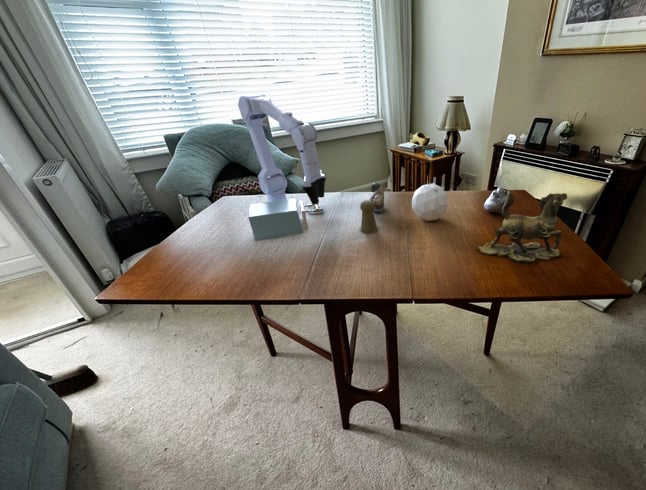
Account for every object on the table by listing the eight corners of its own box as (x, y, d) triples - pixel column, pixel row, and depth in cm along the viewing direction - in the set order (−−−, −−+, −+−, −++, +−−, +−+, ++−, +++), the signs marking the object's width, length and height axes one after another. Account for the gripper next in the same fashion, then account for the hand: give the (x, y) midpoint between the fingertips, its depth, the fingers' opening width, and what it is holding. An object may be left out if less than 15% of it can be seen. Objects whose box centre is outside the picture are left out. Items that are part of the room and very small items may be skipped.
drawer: (319, 215, 125) (316, 198, 121) (322, 226, 116) (319, 208, 112) (266, 223, 121) (261, 205, 117) (265, 235, 112) (260, 217, 108)
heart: (513, 211, 124) (513, 181, 118) (507, 219, 117) (507, 188, 112) (488, 210, 129) (487, 182, 124) (481, 218, 123) (480, 189, 117)
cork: (377, 226, 117) (376, 198, 111) (375, 233, 112) (374, 204, 106) (362, 225, 118) (360, 198, 112) (359, 232, 113) (357, 204, 107)
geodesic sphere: (463, 208, 114) (449, 172, 113) (434, 218, 107) (419, 180, 107) (439, 220, 127) (427, 188, 127) (413, 229, 121) (399, 195, 120)
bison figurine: (384, 214, 126) (383, 190, 121) (367, 215, 126) (366, 191, 121) (384, 203, 136) (383, 181, 130) (368, 204, 136) (367, 181, 131)
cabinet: (299, 219, 125) (294, 198, 119) (301, 232, 115) (296, 210, 109) (256, 226, 121) (250, 204, 116) (255, 240, 111) (248, 217, 106)
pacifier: (323, 214, 128) (326, 208, 133) (321, 200, 125) (324, 195, 129) (306, 215, 129) (310, 209, 134) (303, 201, 125) (307, 195, 130)
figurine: (565, 265, 91) (589, 200, 79) (478, 259, 95) (489, 197, 83) (554, 244, 101) (573, 184, 90) (476, 240, 105) (485, 182, 94)
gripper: (315, 166, 99) (323, 206, 106) (327, 157, 111) (333, 193, 118) (294, 168, 100) (304, 207, 107) (308, 158, 112) (316, 194, 119)
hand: (318, 200), depth 113 cm, fingers open, 7 cm apart
